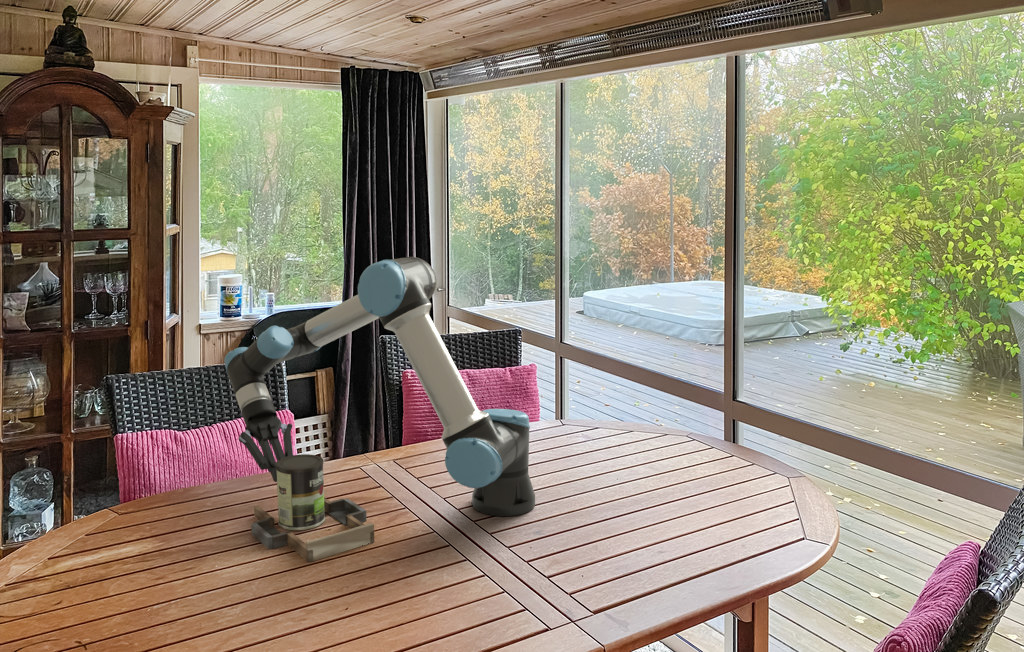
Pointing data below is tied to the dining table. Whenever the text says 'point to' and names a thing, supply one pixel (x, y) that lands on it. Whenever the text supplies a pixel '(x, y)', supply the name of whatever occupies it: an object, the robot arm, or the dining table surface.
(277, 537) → the box
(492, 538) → the dining table surface
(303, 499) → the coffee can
